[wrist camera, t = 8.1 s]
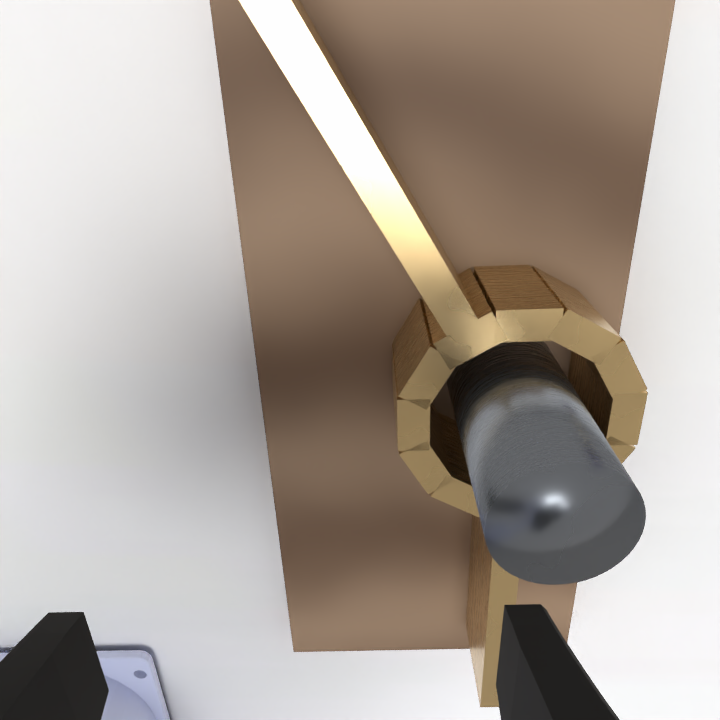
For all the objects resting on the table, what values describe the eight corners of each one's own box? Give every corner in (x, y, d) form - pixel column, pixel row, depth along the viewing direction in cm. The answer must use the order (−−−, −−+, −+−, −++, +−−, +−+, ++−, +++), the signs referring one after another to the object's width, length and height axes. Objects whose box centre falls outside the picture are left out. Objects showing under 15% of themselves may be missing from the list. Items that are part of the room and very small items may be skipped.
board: (558, 624, 24) (566, 646, 23) (296, 630, 24) (293, 652, 23) (669, -80, 14) (690, -89, 13) (211, -57, 14) (201, -65, 13)
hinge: (556, 623, 23) (584, 705, 20) (321, 627, 23) (314, 709, 20) (658, -33, 13) (738, -59, 10) (259, -15, 13) (230, -35, 11)
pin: (541, 403, 18) (631, 582, 12) (442, 406, 18) (481, 586, 12) (550, 311, 17) (658, 459, 11) (444, 315, 17) (488, 465, 11)
